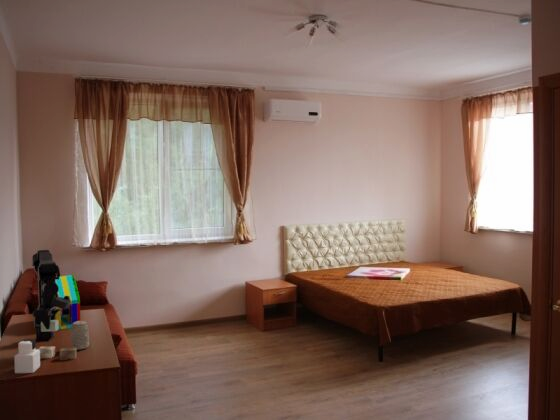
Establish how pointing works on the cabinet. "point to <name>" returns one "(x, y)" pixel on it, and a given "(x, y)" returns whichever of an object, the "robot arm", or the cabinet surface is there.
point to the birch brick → (47, 351)
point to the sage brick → (52, 326)
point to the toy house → (73, 311)
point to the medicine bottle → (27, 357)
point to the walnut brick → (68, 353)
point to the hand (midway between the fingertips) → (49, 327)
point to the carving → (80, 335)
